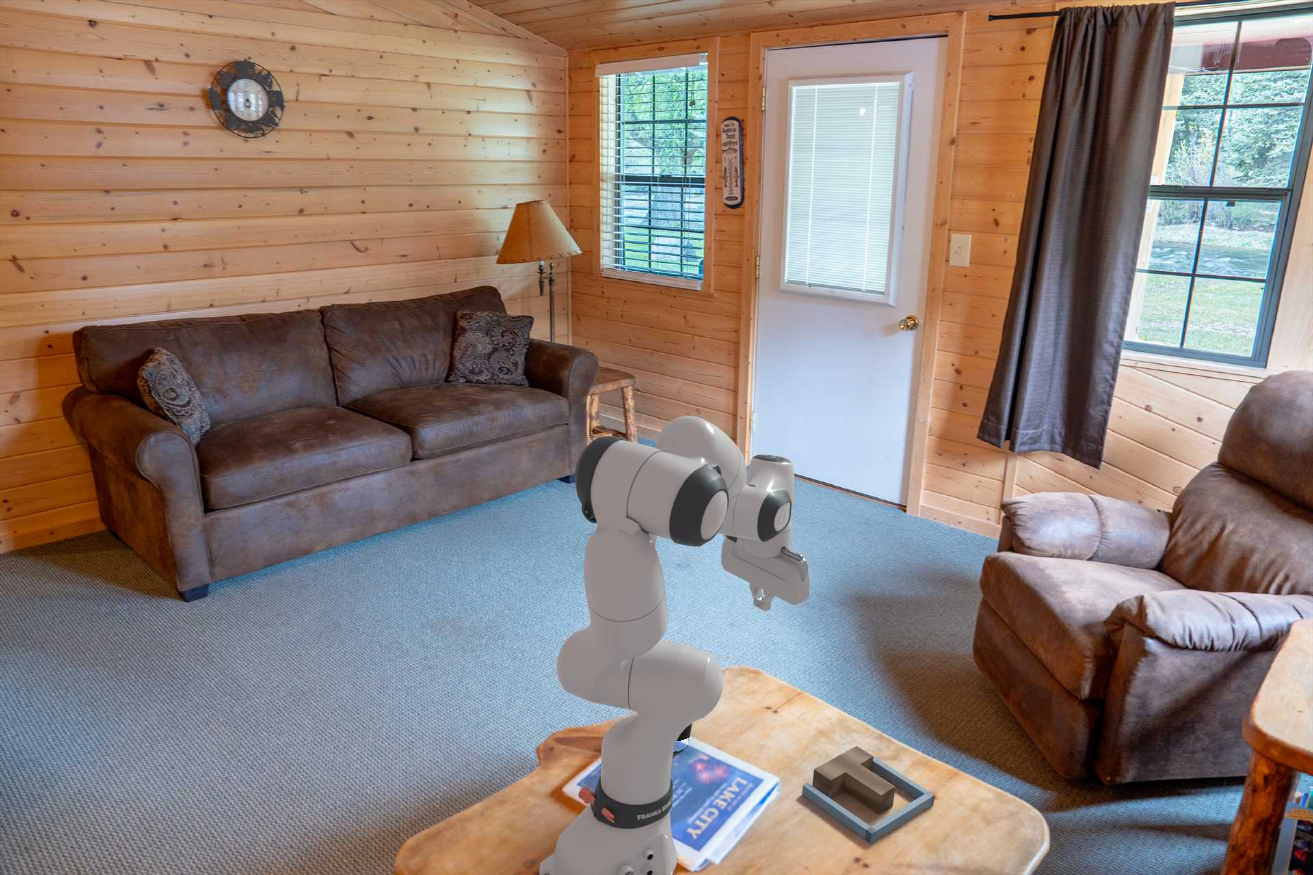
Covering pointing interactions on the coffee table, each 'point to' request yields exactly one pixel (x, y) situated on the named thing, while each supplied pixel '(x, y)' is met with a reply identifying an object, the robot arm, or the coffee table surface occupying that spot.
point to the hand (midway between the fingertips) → (761, 607)
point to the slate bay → (889, 823)
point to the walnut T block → (854, 780)
